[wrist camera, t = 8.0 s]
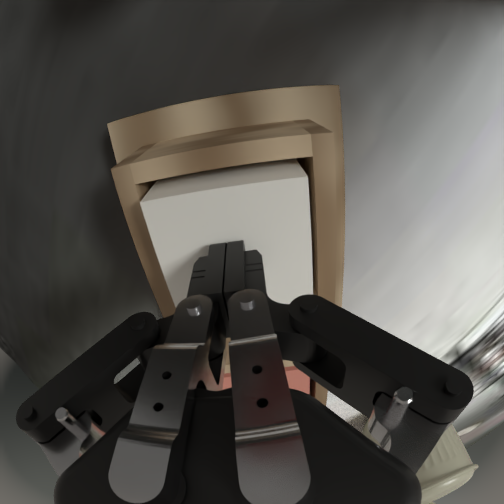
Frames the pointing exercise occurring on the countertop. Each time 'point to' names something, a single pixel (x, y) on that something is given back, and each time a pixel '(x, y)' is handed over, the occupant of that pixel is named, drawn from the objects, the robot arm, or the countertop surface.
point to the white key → (235, 223)
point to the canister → (441, 466)
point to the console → (235, 154)
